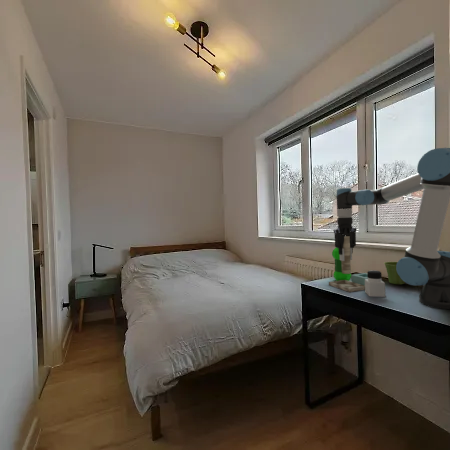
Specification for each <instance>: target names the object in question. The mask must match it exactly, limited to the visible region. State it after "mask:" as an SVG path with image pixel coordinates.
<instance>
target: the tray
mask: <svg viewBox="0 0 450 450" xmlns="http://www.w3.org/2000/svg"><path fill="white" fill-rule="evenodd" d="M328 286H331V287H334V288H337V289H340V290H342V291H345V292H348V293H354V292H359V291H365V285H361V284H358V283H354V282H352V280H349V281H348V280H339V281H337V280H333V281H328Z"/></svg>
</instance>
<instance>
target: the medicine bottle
mask: <svg viewBox="0 0 450 450" xmlns="http://www.w3.org/2000/svg"><path fill="white" fill-rule="evenodd" d="M366 273H367V274H368V279H365V290H364V291H365V294H366V295H367V296H369V297H383V298H384V297H386V283H385V282H384V281H383V280H382V277H383V276H382V275H383V274H382V271H379V270H375V269H372V270H368V271H367V272H366Z"/></svg>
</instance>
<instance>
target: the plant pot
mask: <svg viewBox="0 0 450 450" xmlns="http://www.w3.org/2000/svg"><path fill="white" fill-rule="evenodd" d="M397 262H398V261H386V262H383V264H384V265H385V268H386V273H387V278H388V282H389V283H390V284H393V285H405V284H406V282H404V281H403V280H402V279H401V278H400V276H399V275H398V273H397V270H396V265H397Z"/></svg>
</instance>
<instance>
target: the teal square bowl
mask: <svg viewBox="0 0 450 450" xmlns="http://www.w3.org/2000/svg"><path fill="white" fill-rule="evenodd" d="M365 279H368V274H367V272H362V273H354V274H351V282H354V283H358V284H361V285H365Z"/></svg>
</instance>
